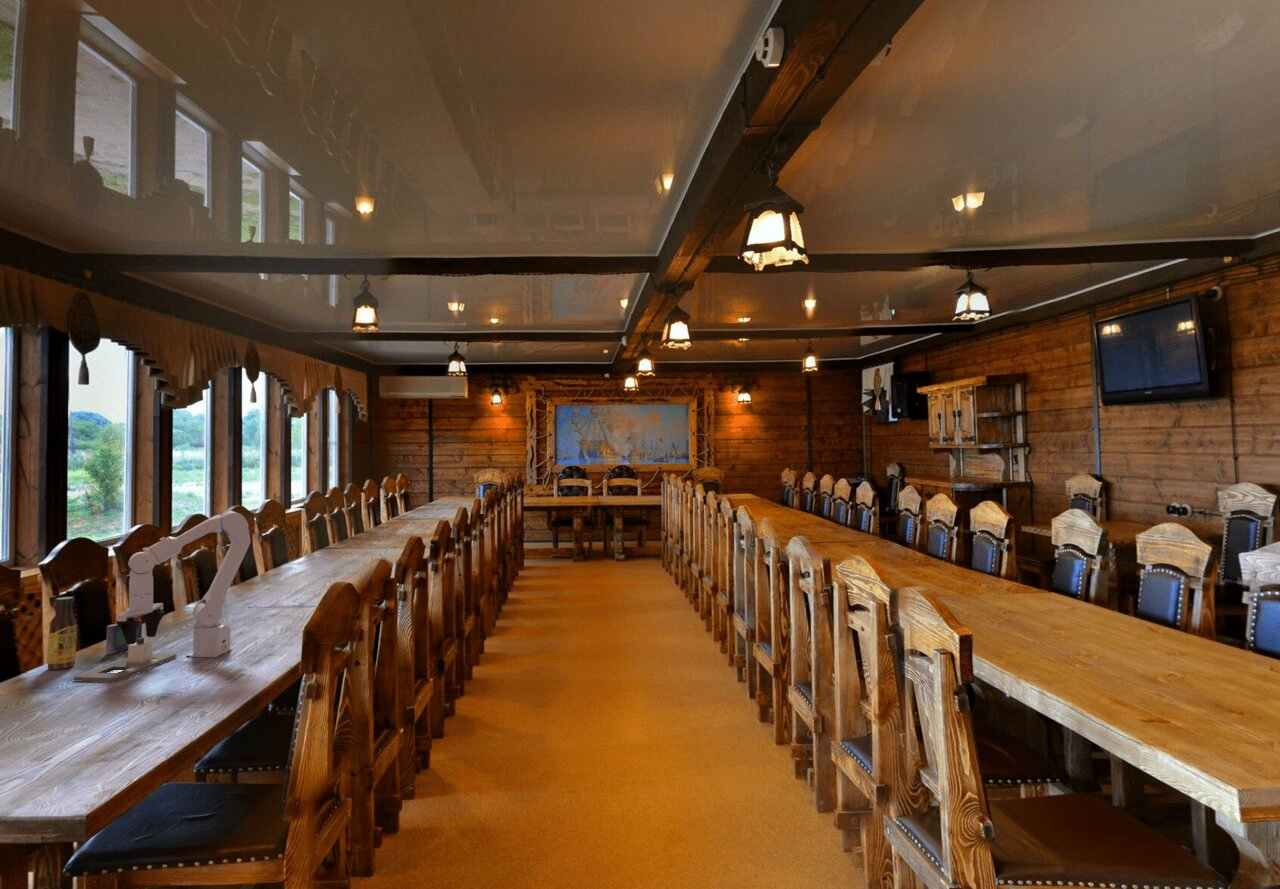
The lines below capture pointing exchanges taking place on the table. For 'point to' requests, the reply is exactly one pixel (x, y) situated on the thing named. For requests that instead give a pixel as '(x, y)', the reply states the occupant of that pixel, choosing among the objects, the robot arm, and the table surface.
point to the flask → (119, 639)
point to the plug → (140, 651)
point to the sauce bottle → (62, 636)
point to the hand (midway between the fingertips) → (141, 640)
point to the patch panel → (122, 664)
